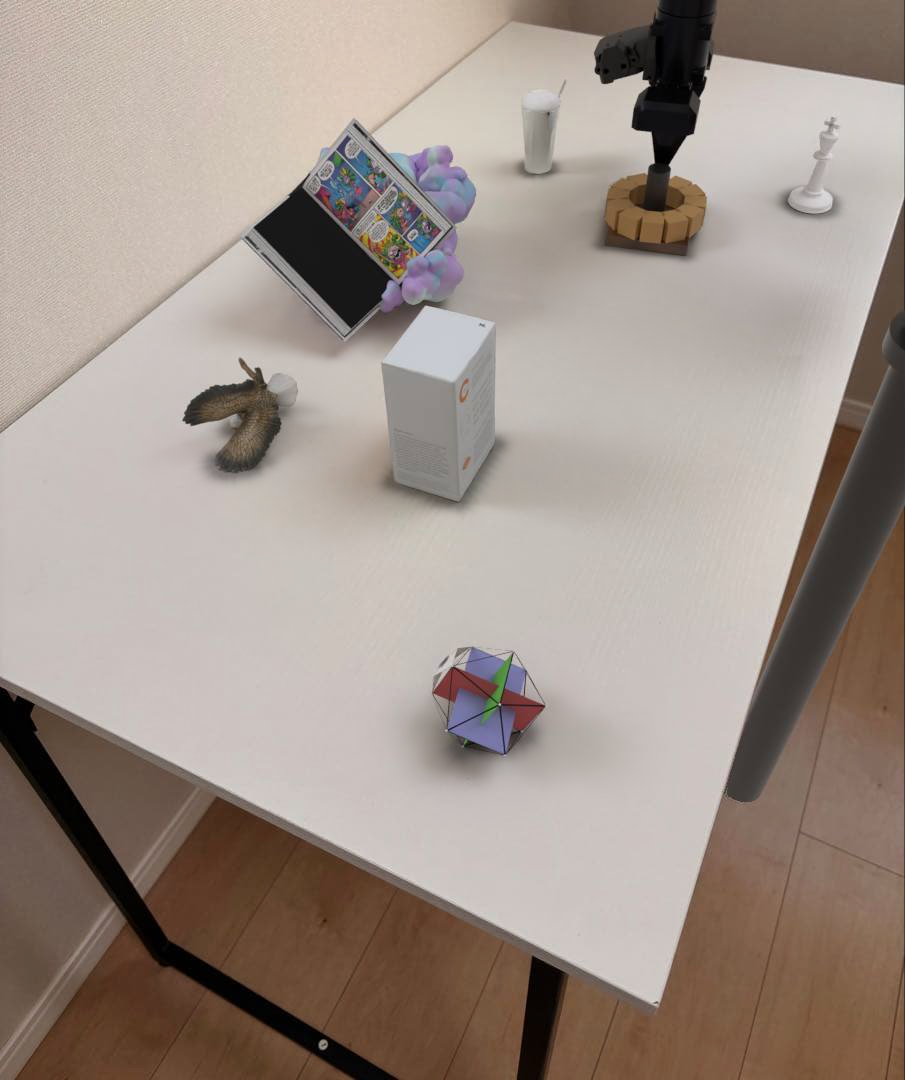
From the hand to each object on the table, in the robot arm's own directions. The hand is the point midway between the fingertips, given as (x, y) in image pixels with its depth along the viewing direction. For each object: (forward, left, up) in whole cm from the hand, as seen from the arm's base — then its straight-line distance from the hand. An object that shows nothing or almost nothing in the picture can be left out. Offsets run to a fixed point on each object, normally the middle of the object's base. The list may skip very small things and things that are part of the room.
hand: (663, 159), depth 104 cm
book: (+26, +22, -6) cm, 35 cm away
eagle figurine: (+30, +47, -6) cm, 56 cm away
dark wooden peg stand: (0, +4, -6) cm, 7 cm away
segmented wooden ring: (0, +4, -5) cm, 6 cm away
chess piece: (-17, -6, -6) cm, 19 cm away
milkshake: (+15, -7, -6) cm, 18 cm away
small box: (+12, +46, -6) cm, 48 cm away
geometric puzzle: (+2, +70, -6) cm, 71 cm away
